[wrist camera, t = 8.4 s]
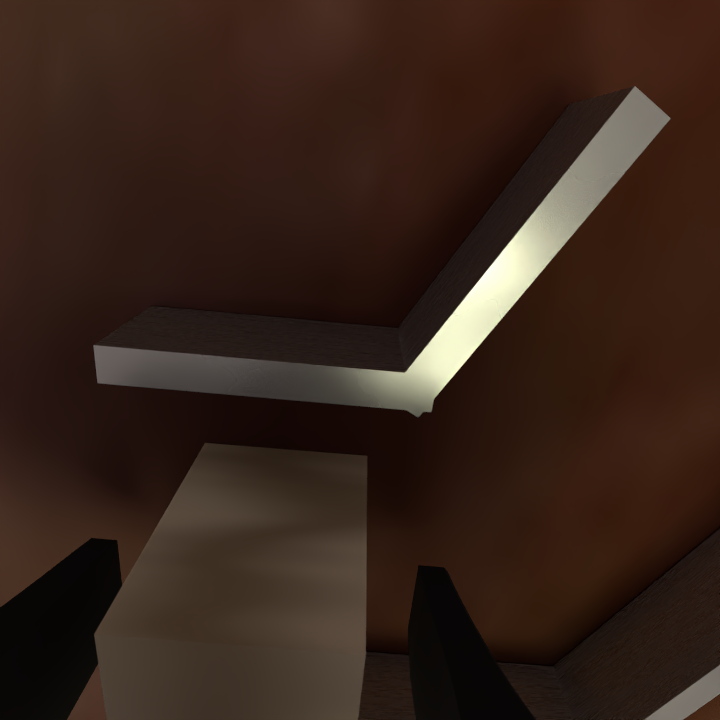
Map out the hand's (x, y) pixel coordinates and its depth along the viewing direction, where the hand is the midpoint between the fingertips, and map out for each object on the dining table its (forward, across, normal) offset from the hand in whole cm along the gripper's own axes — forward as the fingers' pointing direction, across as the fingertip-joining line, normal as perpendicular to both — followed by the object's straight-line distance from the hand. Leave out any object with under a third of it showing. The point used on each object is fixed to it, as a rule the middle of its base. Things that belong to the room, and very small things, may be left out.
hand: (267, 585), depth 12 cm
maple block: (+3, 0, 0) cm, 3 cm away
